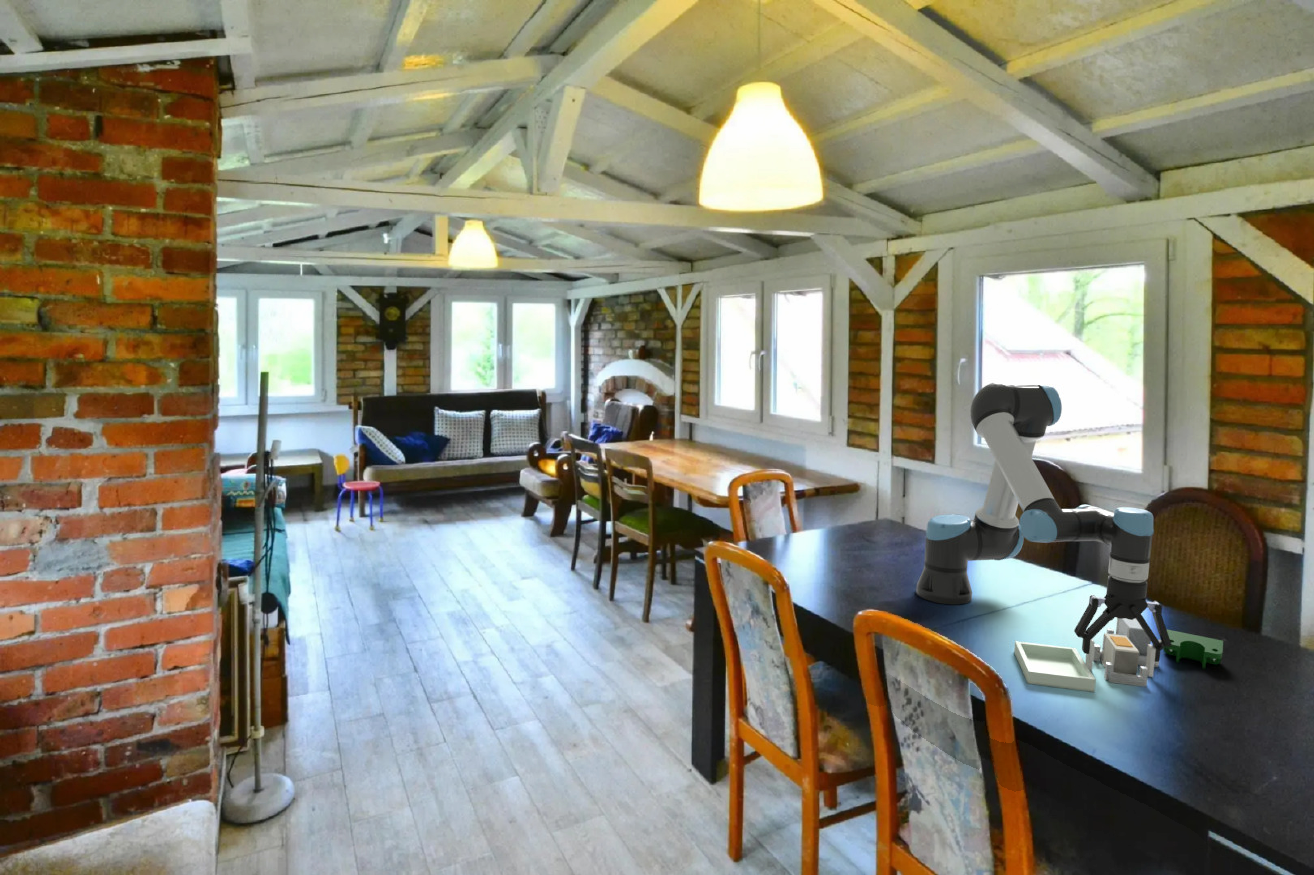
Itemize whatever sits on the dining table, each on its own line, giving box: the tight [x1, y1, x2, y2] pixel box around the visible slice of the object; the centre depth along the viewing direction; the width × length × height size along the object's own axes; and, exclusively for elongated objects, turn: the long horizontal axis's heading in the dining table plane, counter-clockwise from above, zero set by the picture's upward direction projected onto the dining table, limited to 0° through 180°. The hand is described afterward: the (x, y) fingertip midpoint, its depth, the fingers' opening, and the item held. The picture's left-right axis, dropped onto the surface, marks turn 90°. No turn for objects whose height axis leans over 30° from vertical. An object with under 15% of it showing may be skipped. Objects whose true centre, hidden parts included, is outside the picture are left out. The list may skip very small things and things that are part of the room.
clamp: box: [1162, 629, 1224, 669], centre depth 176 cm, size 12×6×9 cm, turn 46°
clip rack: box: [1093, 628, 1160, 688], centre depth 175 cm, size 14×26×4 cm, turn 164°
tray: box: [1013, 640, 1096, 693], centre depth 170 cm, size 13×17×3 cm
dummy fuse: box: [1115, 617, 1152, 656], centre depth 179 cm, size 5×9×8 cm, turn 164°
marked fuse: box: [1100, 632, 1139, 675], centre depth 170 cm, size 5×9×7 cm, turn 164°
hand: (1118, 670), depth 170 cm, fingers open, 11 cm apart
